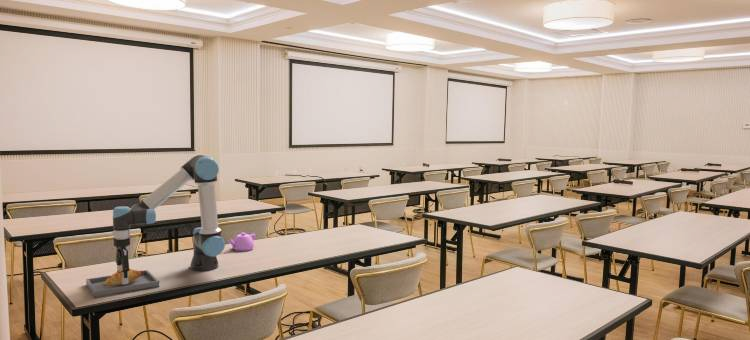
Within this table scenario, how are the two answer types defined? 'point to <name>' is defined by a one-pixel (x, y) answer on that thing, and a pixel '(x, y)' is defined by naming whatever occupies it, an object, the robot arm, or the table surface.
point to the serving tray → (140, 283)
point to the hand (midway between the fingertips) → (122, 280)
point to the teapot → (243, 242)
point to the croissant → (117, 277)
